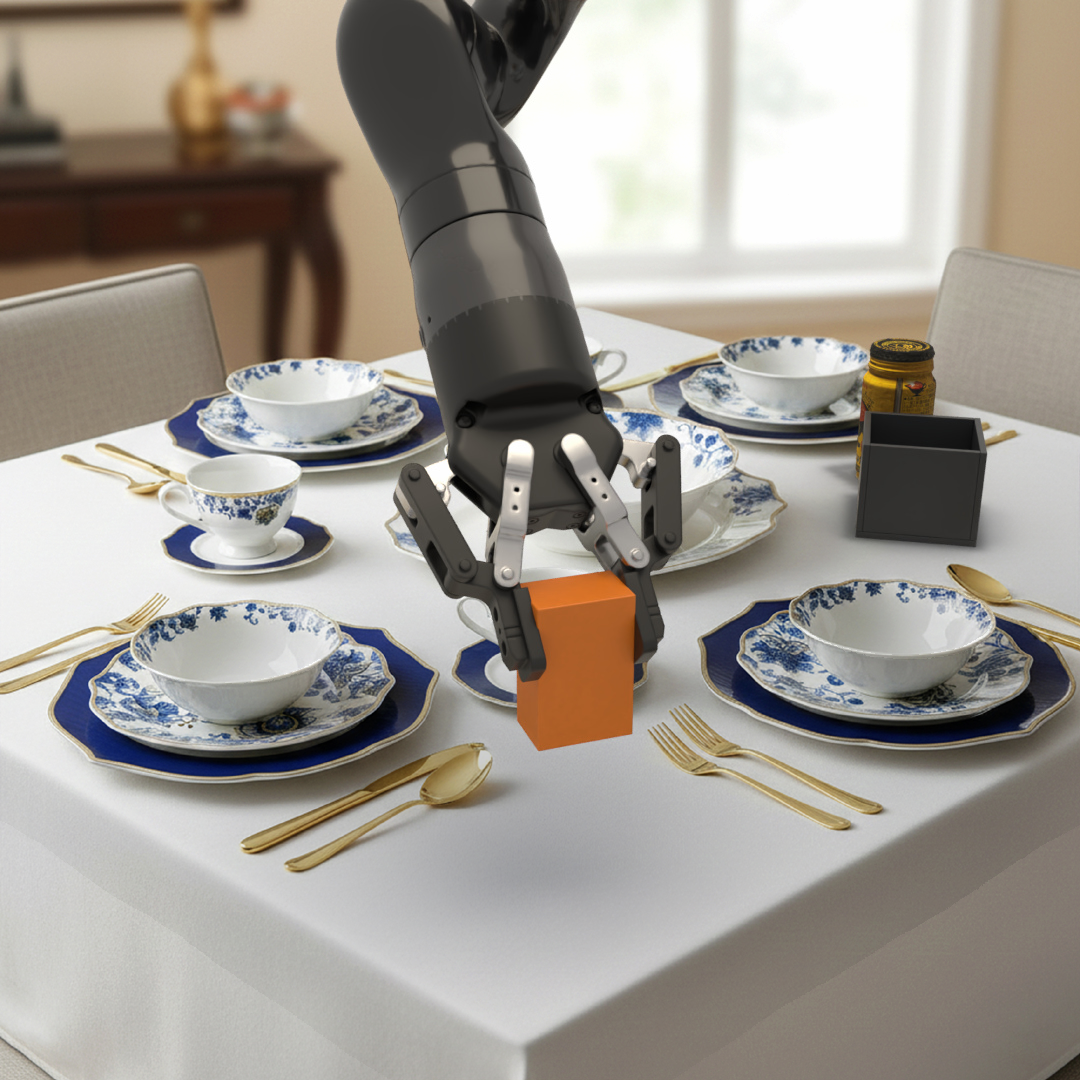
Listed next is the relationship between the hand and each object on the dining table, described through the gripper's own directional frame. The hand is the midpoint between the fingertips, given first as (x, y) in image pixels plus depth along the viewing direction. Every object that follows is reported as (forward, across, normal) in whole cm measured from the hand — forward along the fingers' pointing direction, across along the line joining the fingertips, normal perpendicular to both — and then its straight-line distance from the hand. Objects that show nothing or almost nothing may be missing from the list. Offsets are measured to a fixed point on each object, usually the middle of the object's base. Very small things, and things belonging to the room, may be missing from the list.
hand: (590, 664), depth 64 cm
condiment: (-24, +48, +44) cm, 69 cm away
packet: (+2, 0, +4) cm, 5 cm away
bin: (-18, +43, +37) cm, 59 cm away
